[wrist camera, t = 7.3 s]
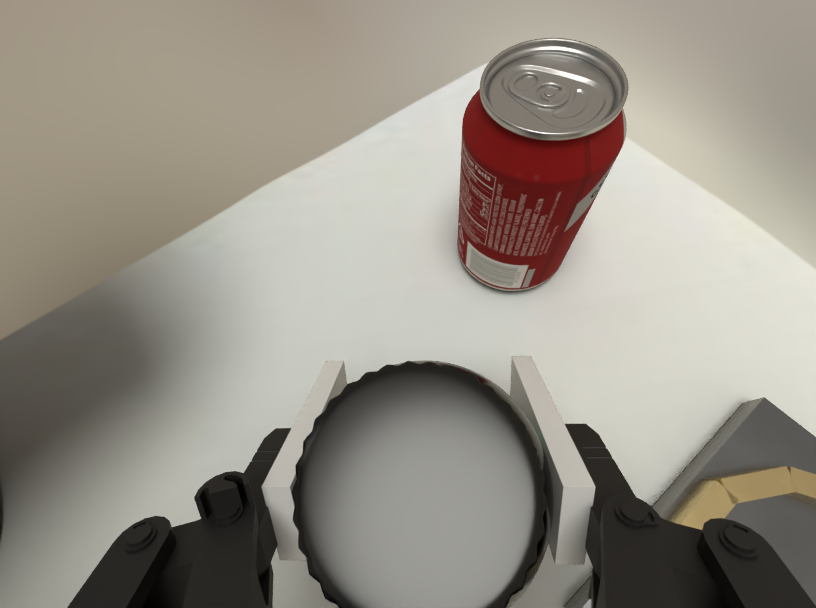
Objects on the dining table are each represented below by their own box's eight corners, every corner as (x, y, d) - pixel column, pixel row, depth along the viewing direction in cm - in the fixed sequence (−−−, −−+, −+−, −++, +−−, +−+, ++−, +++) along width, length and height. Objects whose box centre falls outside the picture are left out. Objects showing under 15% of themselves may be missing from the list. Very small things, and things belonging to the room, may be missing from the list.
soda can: (520, 316, 24) (581, 177, 13) (436, 256, 26) (428, 96, 15) (581, 243, 25) (681, 67, 15) (498, 194, 28) (530, 9, 17)
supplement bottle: (526, 440, 18) (647, 388, 8) (475, 598, 16) (543, 857, 5) (397, 383, 20) (343, 272, 9) (334, 519, 18) (160, 588, 7)
